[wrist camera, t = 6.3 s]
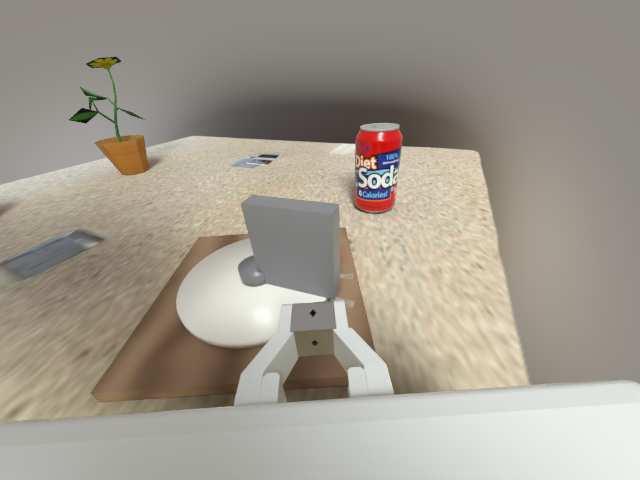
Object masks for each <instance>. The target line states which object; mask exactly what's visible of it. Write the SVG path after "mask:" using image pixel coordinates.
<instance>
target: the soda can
mask: <svg viewBox="0 0 640 480" xmlns="http://www.w3.org/2000/svg"><path fill="white" fill-rule="evenodd" d="M399 127H400V126H399V125H398V124H392V123H374V124H366V125H362V126H360V129H361V130H360V132H359V133H358V135H357V136H356V151H355V194H354V202H355V205H356V206H357V207H358V208H359V209H361V210H363V211H366V212H369V213H380V212H384V211H387V210H389V209H391V208H392V207H393V206H394V204H395V197H396V189H397V180H398V172H399V164H400V156H401V147H402V138H403V137H402V134H401V132H400V130H399Z"/></svg>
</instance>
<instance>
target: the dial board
mask: <svg viewBox="0 0 640 480" xmlns="http://www.w3.org/2000/svg"><path fill="white" fill-rule="evenodd" d="M339 231H340V289H339V291H338V293H337V296H336V298H335V300H333V299H328V301H336V300H344V302H345V309H346V315H347V321H348V328H352V329H353V330H354V331H355V332H356V333H357V334H358V335H359V336H360V337H361V338H362V339H363V340H364V341H365V342H366V343H367V344H368V345H369V346H370V347H371V349H372V350H373V351H374V352H375V348H374V344H373V340H372V336H371V332H370V328H369V324H368V320H367V315H366V311H365V307H364V303H363V299H362V295H361V291H360V286H359V282H358V278H357V274H356V270H355V266H354V262H353V258H352V253H351V249H350V245H349V241H348V237H347V233H346V229H345V228H339ZM244 239H249V234H241V235H226V236H211V237H199V238H198V240H197V241H196V242H195V244H194V245H193V247H192V248H191V250H190V251H189V252H188V254H187V255H186V257H185V258H184V260H183V261H182V263H181V264H180V265H179V267H178V268H177V270H176V271H175V273H174V274H173V276H172V277H171V278H170V280H169V281H168V283H167V284H166V286H165V287H164V289H163V290H162V291H161V293H160V294H159V296H158V297H157V299H156V300H155V301H154V303H153V304H152V306H151V307H150V309H149V310H148V312H147V313H146V314H145V316H144V317H143V319H142V320H141V322H140V323H139V325H138V326H137V327H136V329H135V330H134V332H133V333H132V335H131V336H130V338H129V339H128V340H127V342H126V343H125V345H124V346H123V348H122V349H121V350H120V352H119V353H118V355H117V356H116V358H115V359H114V361H113V362H112V363H111V365H110V366H109V368H108V369H107V371H106V372H105V374H104V375H103V376H102V378H101V379H100V381H99V382H98V384H97V385H96V387H95V388H94V389H93V391H92V392H91V394H92V395H93V396H94V397H95V398H96V399H98V400H99V401H100V402H109V401H124V400H139V399H154V398H170V397H185V396H200V395H215V394H230V393H237V388H238V384H239V380H240V376H241V373H242V372H243V371H244V370H245V369H246V367H247V366H248V365H249V364H250V363H251V361H252V360H253V359H254V358H255V357H256V355H257V354H258V353H259V352H260V351H261V349H262V348H263V347H264V346H265V345H262V346H257V347H251V348H236V349H230V348H222V347H217V346H213V345H209V344H207V343H204V342H202V341H200V340H198V339H197V338H195V337H194V336H193V335H191V334H190V332H189V331H188V330H187V329H186V328H185V326H184V324H183V323H182V321H181V319H180V317H179V315H178V312H177V309H176V299H177V293H178V290H179V287H180V285H181V283H182V282H183V280H184V278H185V277H186V276H187V274H188V273H189V272H190V271H191V270H192V269H193V267H195V266H196V265H197V264H198V263H199V262H200V261H202V260H203V259H204V258H205V257H207V256H208V255H210V254H212V253H213V252H215V251H217V250H219V249H221V248H223V247H225V246H227V245H229V244H232V243H235V242H238V241H241V240H244ZM335 386H348V380H347V372H346V371H345V370H344V368H343V367H342V365H341V364H340V362H339V361H338V359H337V358H336V357H335V355H334V354H329V355H312V356H302V357H298V360H297V361H296V363H295V365H294V367H293V368H292V370H291V372H290V373H289V375H288V377H287V379H286V380H285V382H284V384H283V389H284V390H290V389H305V388H320V387H335Z"/></svg>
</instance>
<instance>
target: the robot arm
mask: <svg viewBox="0 0 640 480" xmlns="http://www.w3.org/2000/svg"><path fill="white" fill-rule="evenodd" d="M329 354H334V355H335V357H336V358H337V359H338V361H339V362H340V364H341V365H342V367H343V368H344V370H345V371H346V372H347V380H348V398H340V399H326V400H312V401H298V402H287V399H286V396H285V392H284V389H283V384H284V382H285V380H286V379H287V377H288V375H289V373H290V372H291V370H292V368H293V367H294V365H295V363H296V361H297V360H298V357H302V356H312V355H329ZM0 480H640V384H638V383H636V382H634V381H631V380H625V379H610V380H596V381H581V382H567V383H553V384H539V385H525V386H511V387H496V388H482V389H468V390H454V391H440V392H426V393H411V394H397V395H395V394H394V390H393V387H392V383H391V379H390V376H389V372H388V368H387V364H386V363H385V362H384V361H383V360H382V359H381V358H380V357H379V356H378V355H377V354H376V353H375V352H374V351H373V350H372V349H371V347H370V346H369V345H368V344H367V343H366V342H365V341H364V340H363V339H362V338H361V337H360V336H359V335H358V334H357V333H356V332H355V331H354V330H353V329H352V328H348V321H347V315H346V309H345V302H344V300H336V301H323V302H313V303H294V304H282V307H281V313H280V321H279V329H278V333H275V334H274V335H273V336H272V337H271V339H270V340H269V341H268V342H267V343H266V345H265V346H264V347H263V348H262V349H261V351H260V352H259V353H258V354H257V355H256V357H255V358H254V359H253V360H252V361H251V363H250V364H249V365H248V366H247V367H246V369H245V370H244V371H243V372H242V373H241V376H240V380H239V384H238V388H237V393H236V397H235V401H234V405H233V406H228V407H213V408H199V409H185V410H171V411H157V412H142V413H128V414H113V415H99V416H84V417H70V418H56V419H41V420H26V421H12V422H6V423H3V424H0Z"/></svg>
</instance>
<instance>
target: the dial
mask: <svg viewBox="0 0 640 480" xmlns="http://www.w3.org/2000/svg"><path fill="white" fill-rule="evenodd" d="M241 206H242V210H243V214H244V218H245V222H246V226H247V230H248V234H249V239H244V240H241V241H238V242H235V243H232V244H229V245H227V246H225V247H223V248H221V249H219V250H217V251H215V252H213V253H212V254H210V255H208V256H207V257H205V258H204V259H203V260H202V261H200V262H199V263H198V264H197V265H196V266H195V267H193V269H192V270H191V271H190V272H189V273H188V274H187V276H186V277H185V278H184V280H183V282H182V283H181V285H180V287H179V290H178V293H177V299H176V309H177V312H178V315H179V317H180V319H181V321H182V323H183V324H184V326H185V328H186V329H187V330H188V331H189V332H190V334H191V335H193V336H194V337H195V338H197V339H198V340H200V341H202V342H204V343H207V344H209V345H213V346H217V347H222V348H230V349H236V348H251V347H257V346H262V345H266V343H267V342H268V341H269V340H270V339H271V337H272V336H273V335H274V334H275V333H278V329H279V321H280V313H281V307H282V304H294V303H313V302H323V301H328V299H333V300H335V298H336V296H337V293H338V291H339V289H340V231H339V204H333V203H323V202H314V201H304V200H295V199H285V198H276V197H267V196H257V195H252V196H251V197H249V198H248V199H246V200H245V201H243V202H242V203H241Z"/></svg>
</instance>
